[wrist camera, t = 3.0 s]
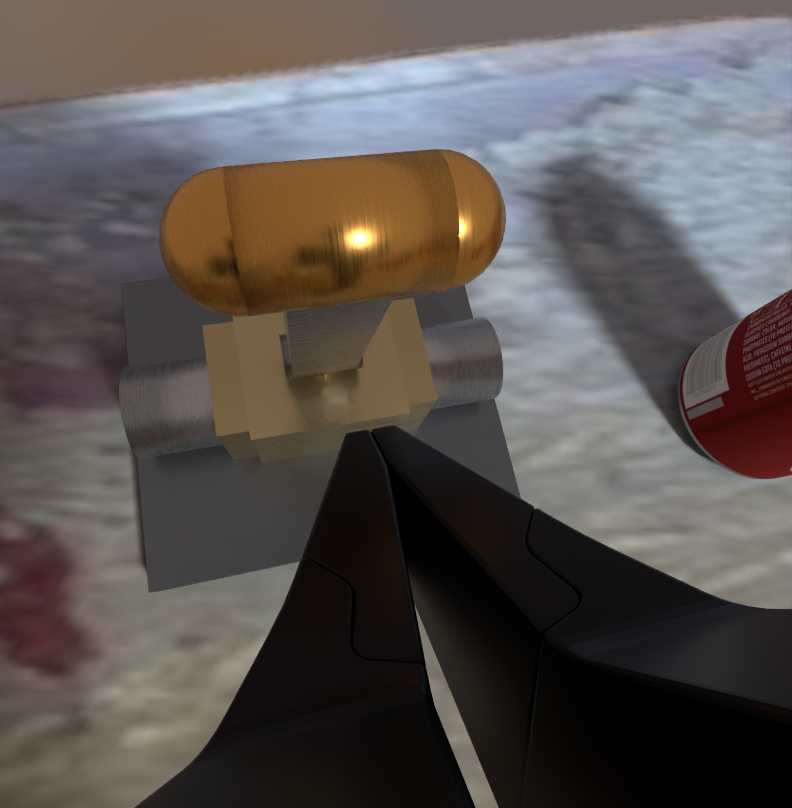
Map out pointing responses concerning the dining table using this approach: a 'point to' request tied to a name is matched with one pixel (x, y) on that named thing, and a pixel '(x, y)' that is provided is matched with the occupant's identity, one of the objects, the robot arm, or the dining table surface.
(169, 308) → the valve base
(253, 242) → the lever
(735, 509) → the dining table surface
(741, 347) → the soda can
